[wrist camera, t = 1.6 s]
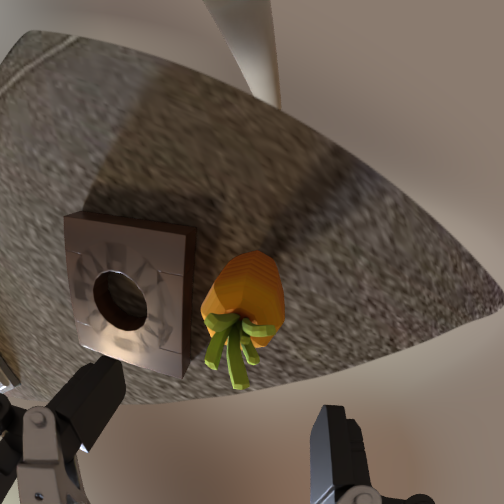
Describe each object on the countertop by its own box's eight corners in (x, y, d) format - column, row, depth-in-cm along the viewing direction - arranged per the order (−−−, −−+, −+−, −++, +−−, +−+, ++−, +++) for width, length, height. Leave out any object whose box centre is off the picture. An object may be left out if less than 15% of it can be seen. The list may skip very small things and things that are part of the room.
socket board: (80, 210, 27) (63, 216, 24) (197, 227, 26) (186, 235, 23) (92, 332, 31) (79, 344, 29) (190, 362, 30) (182, 379, 28)
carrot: (234, 228, 25) (169, 309, 11) (290, 236, 25) (293, 330, 11) (229, 279, 27) (174, 391, 12) (282, 287, 26) (273, 411, 12)
